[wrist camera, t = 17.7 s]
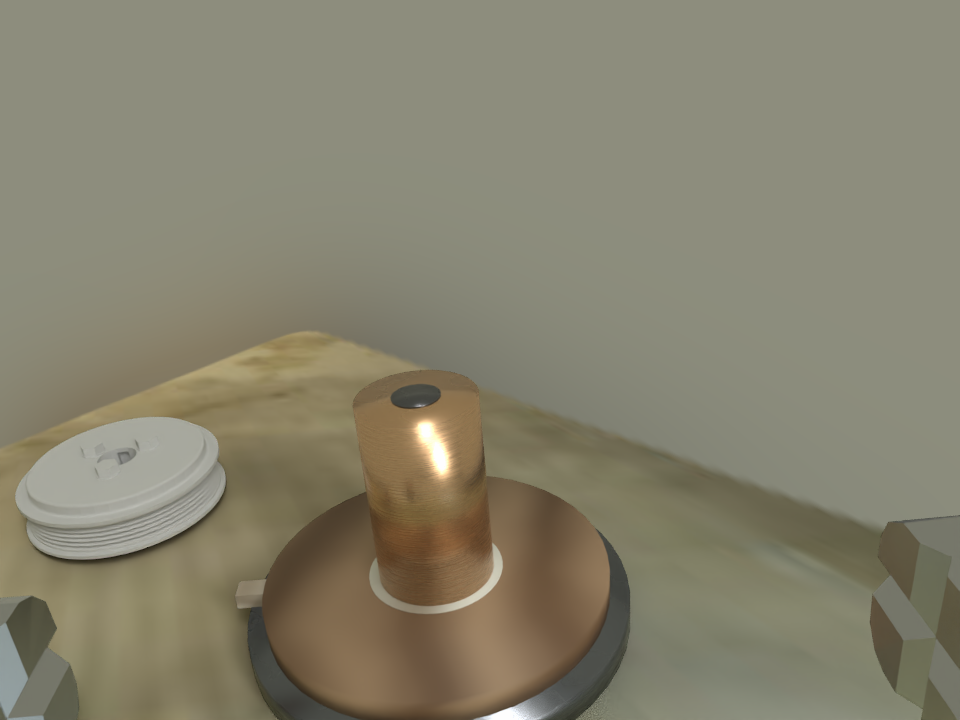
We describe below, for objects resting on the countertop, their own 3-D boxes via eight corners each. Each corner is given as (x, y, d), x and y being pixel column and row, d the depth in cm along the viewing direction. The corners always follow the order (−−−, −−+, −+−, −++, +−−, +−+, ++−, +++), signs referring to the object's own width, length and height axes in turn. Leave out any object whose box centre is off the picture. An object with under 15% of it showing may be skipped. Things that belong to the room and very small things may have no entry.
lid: (66, 474, 64) (47, 415, 62) (240, 452, 65) (226, 393, 63) (1, 585, 53) (-26, 516, 50) (212, 556, 53) (195, 487, 51)
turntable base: (597, 493, 56) (596, 473, 55) (670, 750, 38) (670, 725, 37) (287, 520, 56) (283, 500, 55) (211, 790, 38) (203, 766, 37)
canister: (492, 529, 48) (477, 363, 44) (495, 601, 43) (479, 420, 38) (384, 537, 48) (359, 373, 44) (374, 610, 43) (344, 430, 39)
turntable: (583, 482, 54) (582, 462, 54) (642, 707, 38) (642, 682, 37) (272, 509, 54) (268, 489, 54) (197, 745, 38) (190, 721, 37)
